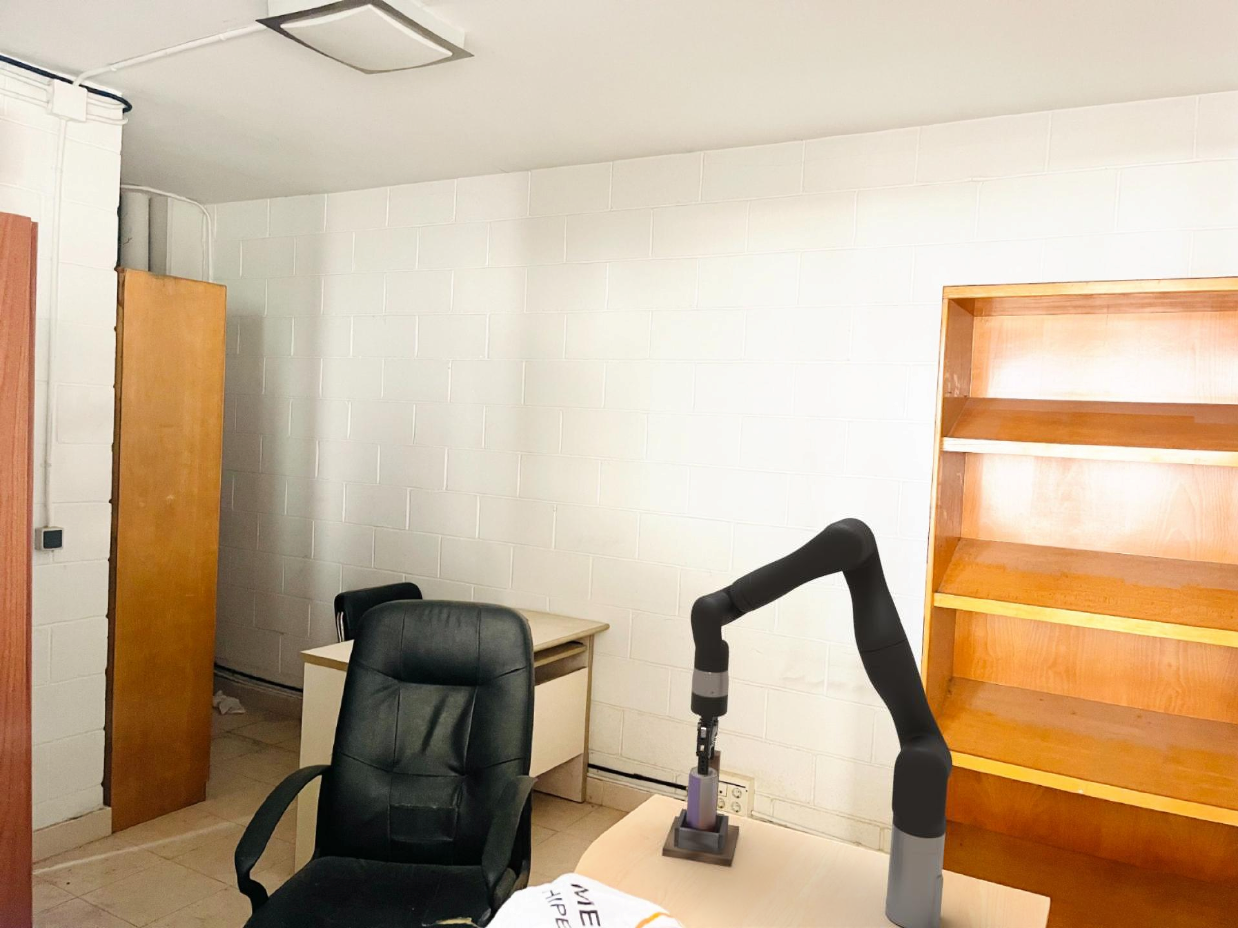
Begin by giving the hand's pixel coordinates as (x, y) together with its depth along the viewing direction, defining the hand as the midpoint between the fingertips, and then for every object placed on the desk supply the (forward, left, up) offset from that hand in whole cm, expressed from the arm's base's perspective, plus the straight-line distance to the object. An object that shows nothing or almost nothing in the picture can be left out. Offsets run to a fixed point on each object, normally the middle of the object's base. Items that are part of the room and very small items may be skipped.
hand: (705, 766), depth 189 cm
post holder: (0, -2, -17) cm, 17 cm away
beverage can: (0, +1, -16) cm, 16 cm away
